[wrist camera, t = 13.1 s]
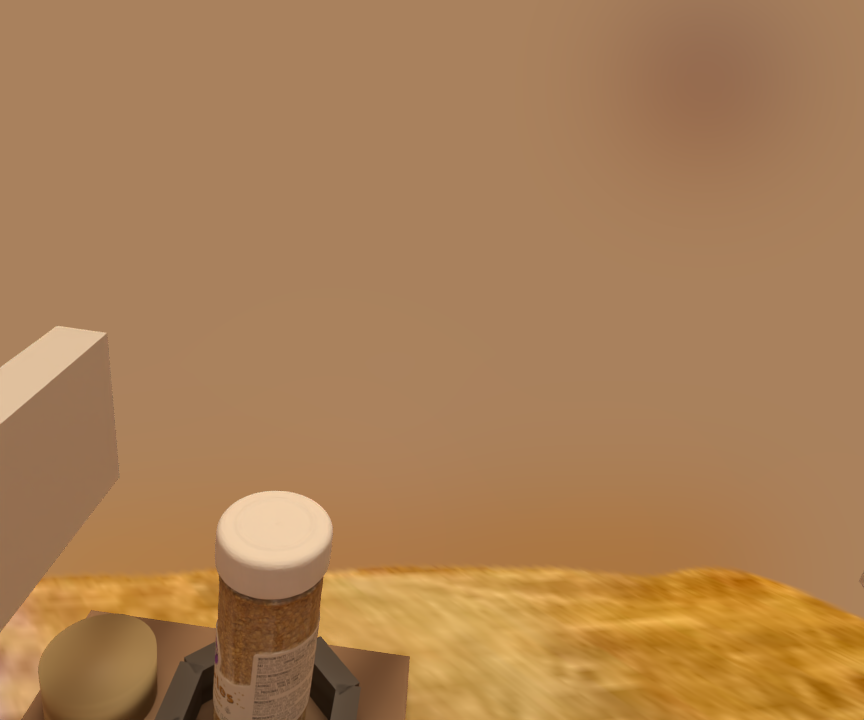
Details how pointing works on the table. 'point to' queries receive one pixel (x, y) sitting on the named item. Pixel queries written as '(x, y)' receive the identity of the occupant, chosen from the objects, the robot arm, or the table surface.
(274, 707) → the sprinkles bottle
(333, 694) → the carrier board
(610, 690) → the table surface
